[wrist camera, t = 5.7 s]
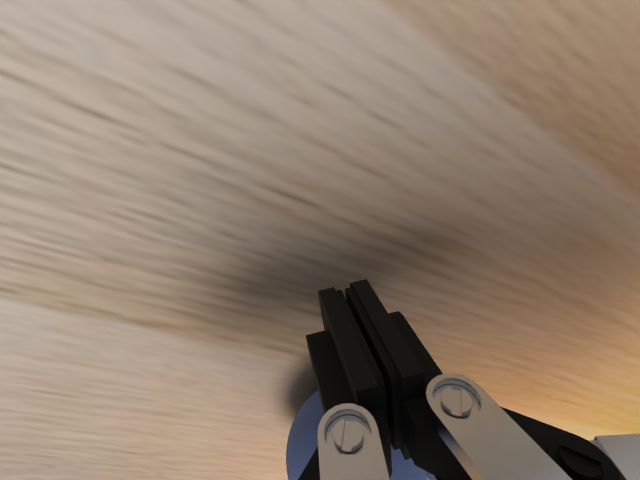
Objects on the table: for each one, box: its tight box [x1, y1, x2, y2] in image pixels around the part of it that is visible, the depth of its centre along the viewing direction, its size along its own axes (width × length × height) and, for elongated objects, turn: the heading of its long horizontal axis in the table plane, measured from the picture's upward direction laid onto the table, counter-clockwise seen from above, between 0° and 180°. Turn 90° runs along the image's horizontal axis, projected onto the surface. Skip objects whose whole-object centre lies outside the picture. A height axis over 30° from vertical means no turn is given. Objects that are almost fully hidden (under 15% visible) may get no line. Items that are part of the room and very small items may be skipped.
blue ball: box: [286, 390, 428, 480], centre depth 13 cm, size 5×5×5 cm
